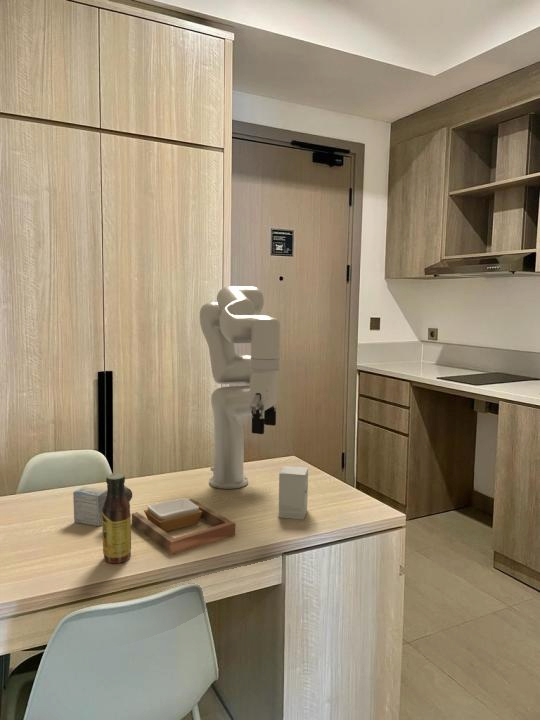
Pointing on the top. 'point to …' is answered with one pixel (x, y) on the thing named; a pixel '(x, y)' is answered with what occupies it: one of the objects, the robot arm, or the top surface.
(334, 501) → the top surface
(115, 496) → the sauce bottle
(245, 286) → the robot arm
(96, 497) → the medicine box
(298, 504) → the supplement box
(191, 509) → the soap dish
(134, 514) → the bay
